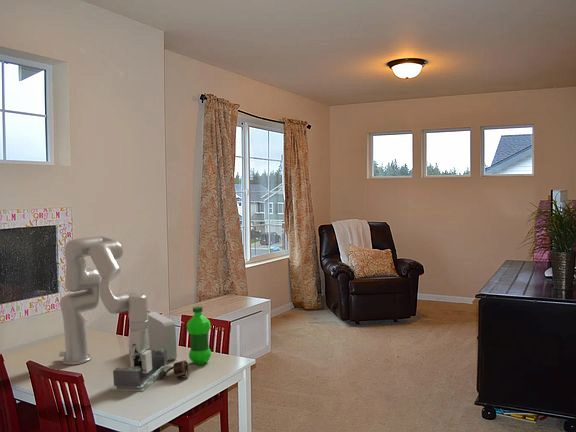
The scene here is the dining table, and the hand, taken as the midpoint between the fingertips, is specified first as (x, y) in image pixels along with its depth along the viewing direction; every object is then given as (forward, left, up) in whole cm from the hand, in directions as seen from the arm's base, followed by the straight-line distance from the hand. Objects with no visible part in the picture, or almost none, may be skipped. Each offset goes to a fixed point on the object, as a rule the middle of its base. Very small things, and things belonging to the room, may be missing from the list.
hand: (141, 367), depth 220 cm
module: (0, 0, -2) cm, 2 cm away
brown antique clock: (+14, +2, -5) cm, 15 cm away
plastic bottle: (+18, +20, -5) cm, 28 cm away
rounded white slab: (-6, +31, -5) cm, 32 cm away
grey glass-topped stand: (0, 0, -5) cm, 5 cm away
